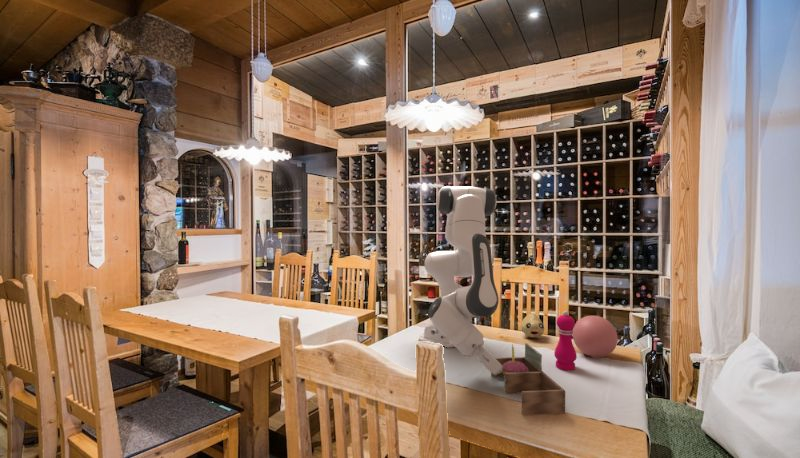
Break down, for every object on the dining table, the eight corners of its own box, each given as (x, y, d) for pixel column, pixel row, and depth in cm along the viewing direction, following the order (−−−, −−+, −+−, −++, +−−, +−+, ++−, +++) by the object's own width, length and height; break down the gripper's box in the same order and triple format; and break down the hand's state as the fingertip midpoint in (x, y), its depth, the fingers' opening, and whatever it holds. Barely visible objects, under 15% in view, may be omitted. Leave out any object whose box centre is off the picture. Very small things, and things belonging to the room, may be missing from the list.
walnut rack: (522, 414, 105) (522, 373, 104) (491, 375, 131) (491, 343, 131) (565, 412, 106) (565, 372, 106) (525, 374, 132) (525, 342, 132)
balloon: (599, 346, 162) (599, 309, 162) (625, 363, 142) (626, 321, 142) (561, 345, 163) (561, 308, 162) (582, 363, 143) (583, 321, 142)
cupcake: (497, 379, 128) (497, 342, 128) (522, 378, 129) (522, 341, 129) (506, 390, 120) (506, 351, 120) (533, 389, 121) (533, 350, 120)
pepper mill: (552, 363, 143) (552, 308, 142) (573, 364, 142) (573, 309, 141) (556, 370, 136) (557, 312, 135) (579, 371, 134) (579, 313, 134)
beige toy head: (522, 341, 168) (523, 316, 168) (519, 333, 180) (519, 310, 180) (547, 343, 166) (547, 318, 166) (542, 334, 178) (542, 311, 178)
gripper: (486, 343, 113) (519, 376, 114) (467, 324, 133) (495, 352, 134) (471, 359, 113) (504, 392, 114) (454, 338, 133) (483, 366, 134)
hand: (499, 370), depth 124 cm, fingers closed
